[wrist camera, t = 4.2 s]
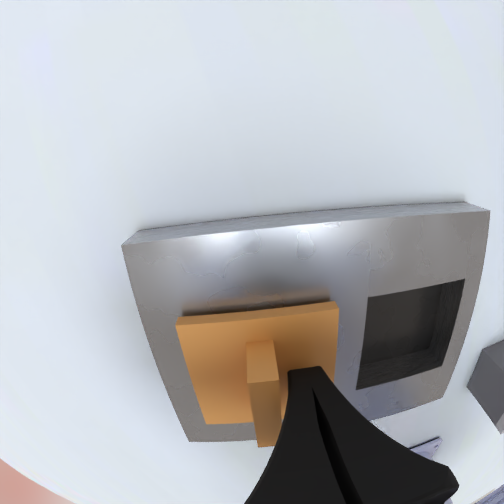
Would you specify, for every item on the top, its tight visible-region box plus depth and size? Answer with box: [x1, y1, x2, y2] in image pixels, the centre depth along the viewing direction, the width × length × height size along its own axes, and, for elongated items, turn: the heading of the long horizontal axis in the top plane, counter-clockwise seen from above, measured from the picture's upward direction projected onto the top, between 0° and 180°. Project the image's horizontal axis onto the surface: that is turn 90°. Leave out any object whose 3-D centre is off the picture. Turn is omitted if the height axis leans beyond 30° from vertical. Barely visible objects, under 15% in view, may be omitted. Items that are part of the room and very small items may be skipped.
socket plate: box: [121, 202, 490, 442], centre depth 13 cm, size 12×16×2 cm
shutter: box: [175, 301, 339, 447], centre depth 11 cm, size 6×6×3 cm
